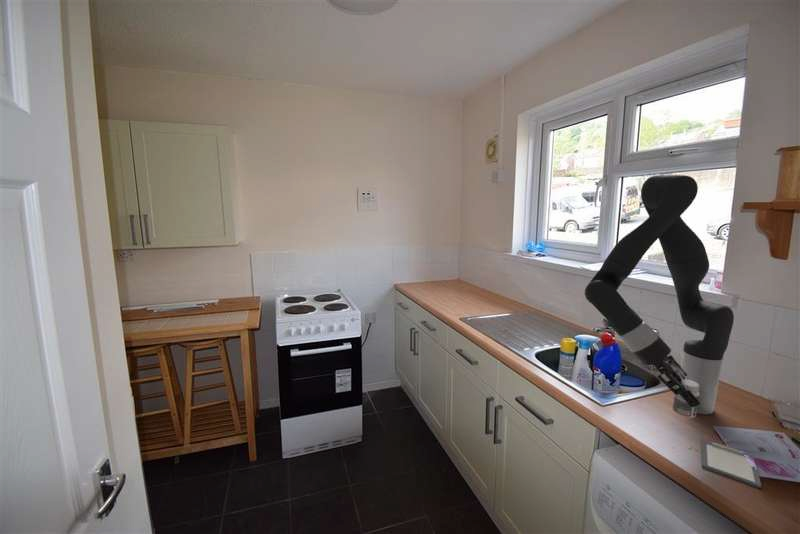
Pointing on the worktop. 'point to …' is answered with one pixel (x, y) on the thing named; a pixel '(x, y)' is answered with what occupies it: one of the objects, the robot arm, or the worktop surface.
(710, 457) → the tray
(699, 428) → the worktop surface
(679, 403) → the pill bottle
